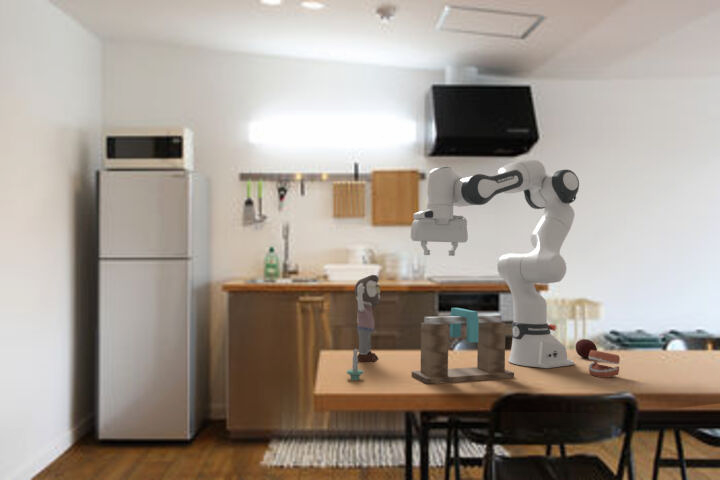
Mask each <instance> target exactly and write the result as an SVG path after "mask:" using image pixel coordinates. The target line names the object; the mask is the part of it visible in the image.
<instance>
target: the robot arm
mask: <svg viewBox="0 0 720 480" xmlns="http://www.w3.org/2000/svg"><path fill="white" fill-rule="evenodd" d="M579 189H580V181H579V178H578V176H577V175H576V173H575V172H574V171H572V170H571V169H561V170H557V171H555V172H554V173H550V174H548V173H546V168H545V165H544V164H543V163H542V162H541V161H539V160H536V159H524V160H518V161H514V162H510V163H507V164H505V165H503V166H502V167H500V168H499V169H498V170H497V173H496V174H495V175H491V176H489V175H486V174H483V173H477V174H474V175H471V176H467V177H462V176H460V175H458V174H457V173H456V172H455V171H454V170H453V169H452V167H451V166H441V167H437V168H433V169H432V170H430V171H429V173H428V178H427V188H426V192H427V204H426V209H423V210H421V211H417V212H415V213H413V216H412V217H413V219H414V220H413V221H412V223H411V228H410V238H411V240H412V242H420V246H421V248H422V249H423V255H424V256H430V255H431V249H428V246H427V245H428V242H431V243H433V242H434V243H436V242H437V243H451V246H452V247H451V249H450V250H448V256H449V257H450V256H451V257H455V255H456V250H457V248H458V247H459V243H467V241H468V238H469V237H468V227H467V226H468V220H467V219H466V217H464V216H463V215H454V207H459V208H461V207H468V206H469V207H470V206H481V205H486V204H487V203H489V201H491V200H492V199H493V198H494V197H495V196H498V194H502V193H504V194H517V193H521V192H523V194H524V199H525V201H526V203H527V204H528V205H529V207H530V208H532V209H534V210H540V209H541V210H542V209H544V211H543V214H542V216H541V217H540V219H539V220H538V222H537V224H536V225H535V227H534V228H533V230H532V232H531V234H530V243H531V245H532V247H533V248H534V249H533V250H531V251H513V252H512V251H511V252H507V253H504V254H501V256H500V257H499V259H498V261H497V264H496V265H497V272H498V275H499V276H500V277H501V278H502V279H503V280H504V282H505V283H506V284H507V286H508V288H509V291H510V293H511V297H512V303H513V307H512V308H513V321H512V322H511V333H512V341H511V348H510V353H509V358H508V362H509V363H511V364H514V365H518V366H523V367H535V368H541V369H551V368H558V367H565V366H572V365H575V361H574V360H572V359H571V358H568V354H567V348H566V346H565V345H564V344H563V343H562V342H561V341H560V340H558V339H557V338H556V337H555V336H554V335H553V334H552V332H551V331H556V330H557V325H556V324H551V323H550V324H549V323H547V311H548V310H547V309H548V307H547V305H548V304H547V301H546V298H544V296H542V295H541V294H539V292H538V291H537V289H536V286H535V284H538V285H540V284H541V285H547V284H554V283H559V282H561V281H562V280H563V279H564V277H565V275H566V273H567V263H566V261H565V259H564V257H563V256H562V255H561V253H560V251H561V248H562V246H563V243H564V242H565V240H566V238H567V236H568V234H569V232H570V231H571V228H572V225H573V223H574V220H575V210H574V208H573V207H572V206H571V203H574V202H575V201H576V199H577V194H578V192H579Z"/></svg>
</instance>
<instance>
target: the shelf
mask: <svg viewBox="0 0 720 480" xmlns="http://www.w3.org/2000/svg"><path fill="white" fill-rule="evenodd" d="M502 317H503V316H502V315H500V314H491V315H490V314H487V315H486V314H485V315H478V318H479V327H478V342H477V362H476V365H477V366H475V367H474V366H471V367H460V368H459V367H457V368H456V367H455V368H449V325H450V324H459V323H461V324H467V318H465V317H461V316H450V315H448V316H447V315H446V316H424V318H423V321H424V322H420V370H412V371H411V377H412V376H413V377H412V378H414V377H415V380H418V381H420V382H422V383H424V384H425V383H426V385H430V384H429V383H435V384H442V383H441V382H449V383H460V382H472V381H473V382H474V381H487V380H500V379H513V378H515V371H514V372H513V371H510V370H508V369H506V322H504V321H502Z"/></svg>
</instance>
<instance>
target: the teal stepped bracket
mask: <svg viewBox="0 0 720 480" xmlns="http://www.w3.org/2000/svg"><path fill="white" fill-rule="evenodd" d="M478 313H479V312H478V311H475V310H470V309H465V308H460V307H451V309H450V314H449V316H461V317H465V318H467V323H466V343H478V327H479V318H478V316H479V314H478ZM449 337H450V338H461V337H462V323H459V324H449Z"/></svg>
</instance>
